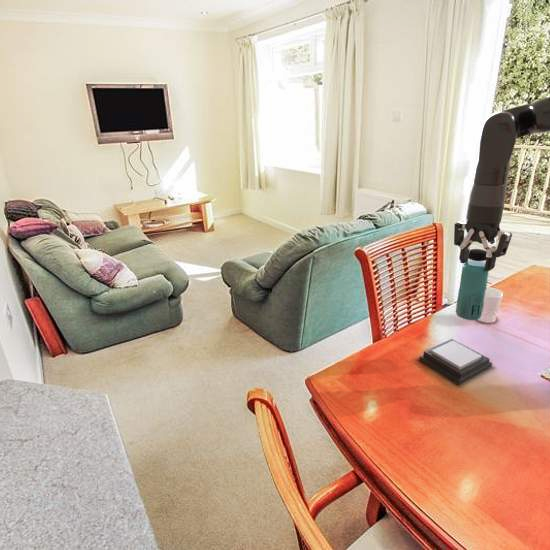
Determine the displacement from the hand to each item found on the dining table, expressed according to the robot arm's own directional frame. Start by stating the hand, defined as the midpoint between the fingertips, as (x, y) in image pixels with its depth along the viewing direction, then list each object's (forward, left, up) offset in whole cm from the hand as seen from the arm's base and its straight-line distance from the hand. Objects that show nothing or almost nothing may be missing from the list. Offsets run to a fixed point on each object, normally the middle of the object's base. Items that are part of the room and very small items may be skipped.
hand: (475, 266), depth 96 cm
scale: (+2, 0, -29) cm, 30 cm away
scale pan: (+3, 0, -27) cm, 27 cm away
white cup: (-28, -11, -30) cm, 42 cm away
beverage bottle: (0, 0, -16) cm, 16 cm away
